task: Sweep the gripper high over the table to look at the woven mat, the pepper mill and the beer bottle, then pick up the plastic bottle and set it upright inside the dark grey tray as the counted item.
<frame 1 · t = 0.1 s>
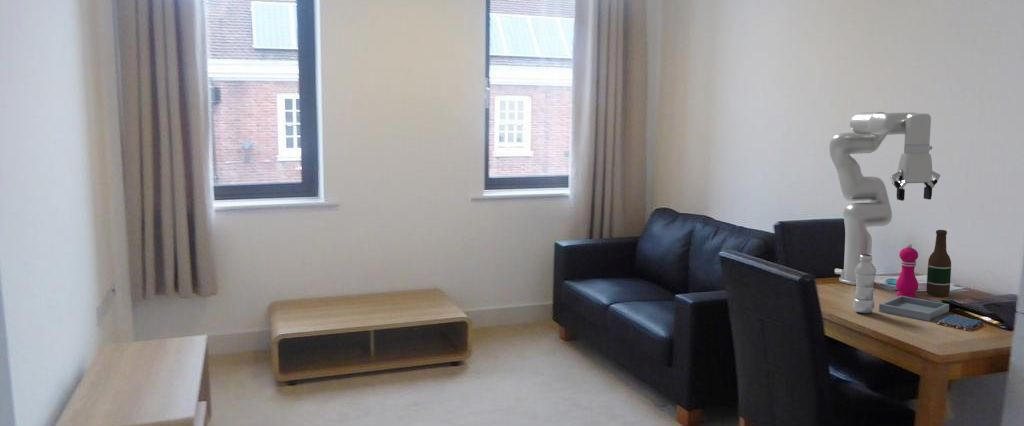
hand: (913, 199, 251), 37 cm above the table, tool pointing down, fingers open, 9 cm apart
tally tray: (913, 311, 249), on the table
plastic bottle: (863, 313, 249), on the table
beer bottle: (937, 295, 268), on the table
woven mat: (959, 326, 233), on the table
pepper mill: (906, 298, 266), on the table
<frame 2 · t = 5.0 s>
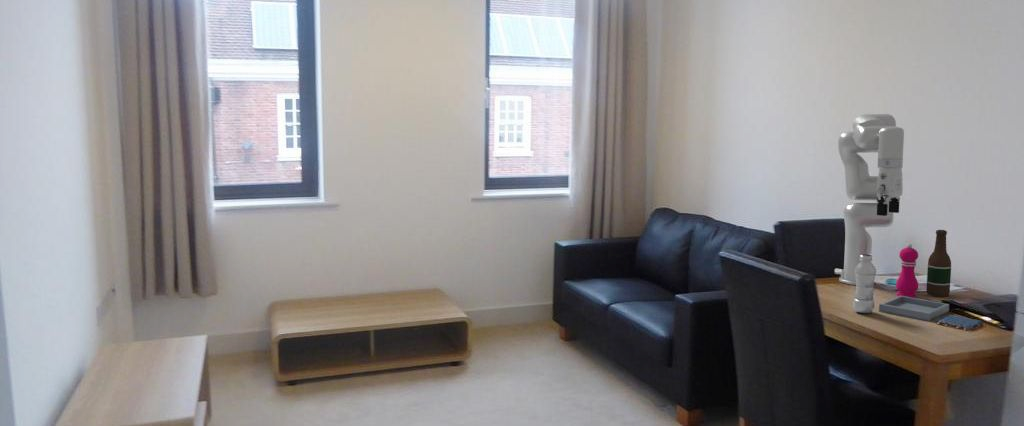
hand: (887, 213, 249), 33 cm above the table, tool pointing down, fingers open, 9 cm apart
nothing on the table moved.
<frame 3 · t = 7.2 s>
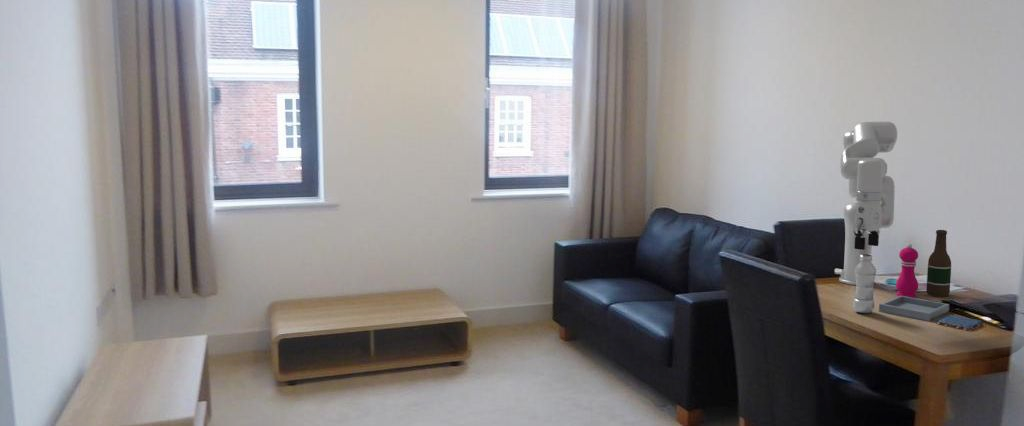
hand: (866, 247, 245), 23 cm above the table, tool pointing down, fingers open, 9 cm apart
nothing on the table moved.
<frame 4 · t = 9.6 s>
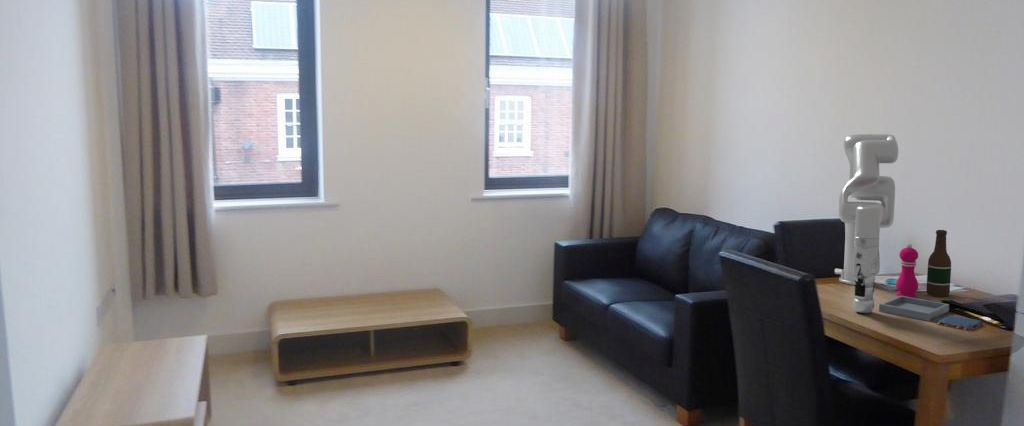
hand: (864, 293, 248), 7 cm above the table, tool pointing down, fingers closed on plastic bottle, 5 cm apart
plastic bottle: (863, 312, 249), on the table, touching gripper
everything else where it was.
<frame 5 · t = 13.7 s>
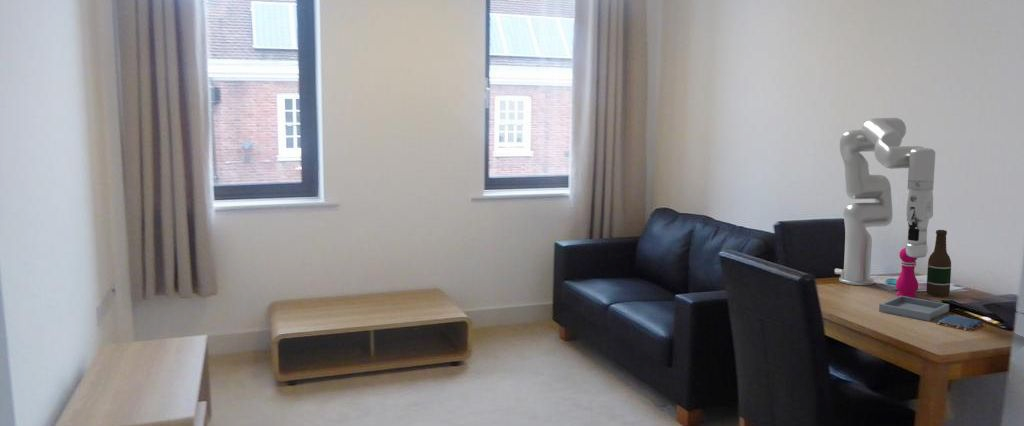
hand: (917, 238, 245), 25 cm above the table, tool pointing down, fingers closed on plastic bottle, 5 cm apart
plastic bottle: (916, 258, 246), point 19 cm above the table, touching gripper
everything else where it was.
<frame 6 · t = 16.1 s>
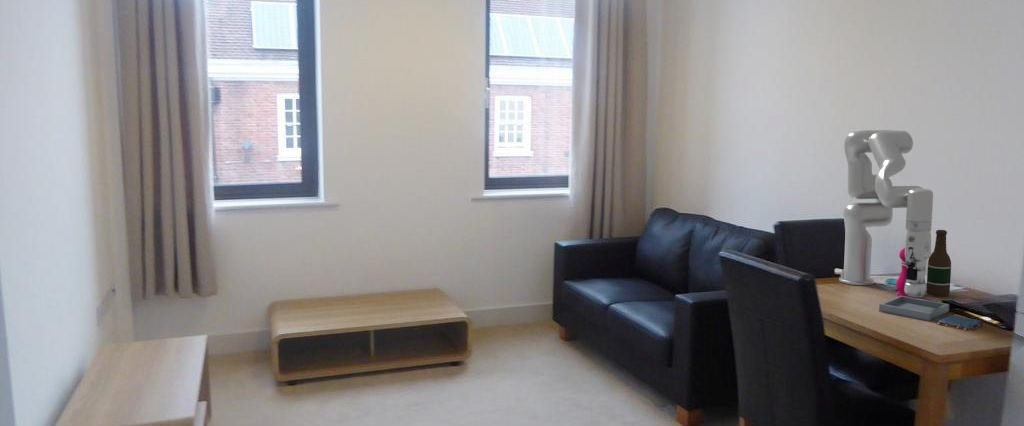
hand: (915, 277, 247), 12 cm above the table, tool pointing down, fingers closed on plastic bottle, 5 cm apart
plastic bottle: (914, 297, 248), point 5 cm above the table, touching gripper
everything else where it was.
when the fingers open (9 cm above the table, at t = 17.6 s): plastic bottle drops 2 cm, resting on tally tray.
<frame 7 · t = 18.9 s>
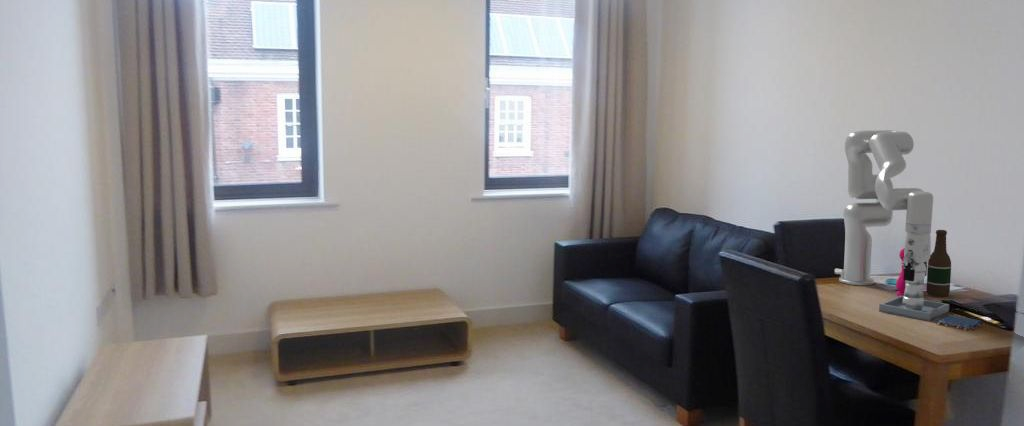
hand: (914, 277, 247), 12 cm above the table, tool pointing down, fingers open, 9 cm apart
plastic bottle: (912, 310, 248), resting on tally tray
everything else where it was.
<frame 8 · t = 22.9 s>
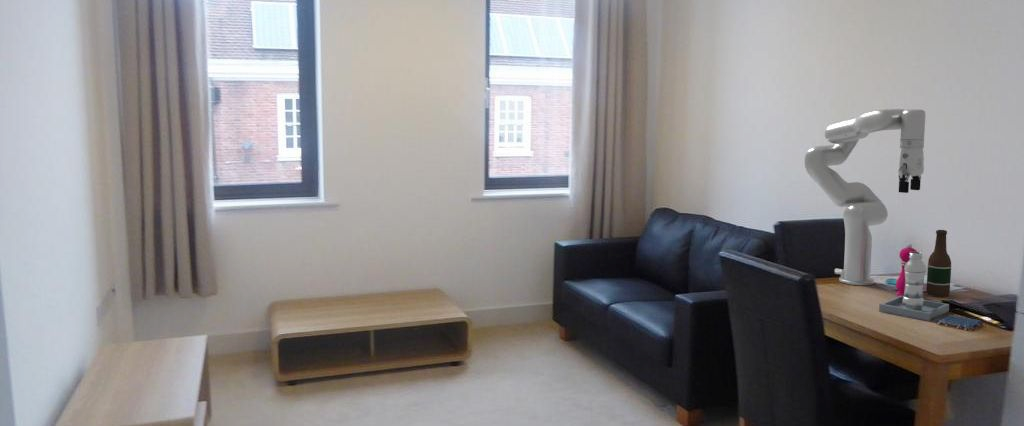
hand: (909, 191, 265), 38 cm above the table, tool pointing down, fingers open, 9 cm apart
nothing on the table moved.
at the end: plastic bottle inside the target area on the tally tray (1.4 cm from its centre), point 0.4 cm above the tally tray's base; plastic bottle tilted 0°; the gripper is holding nothing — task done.
